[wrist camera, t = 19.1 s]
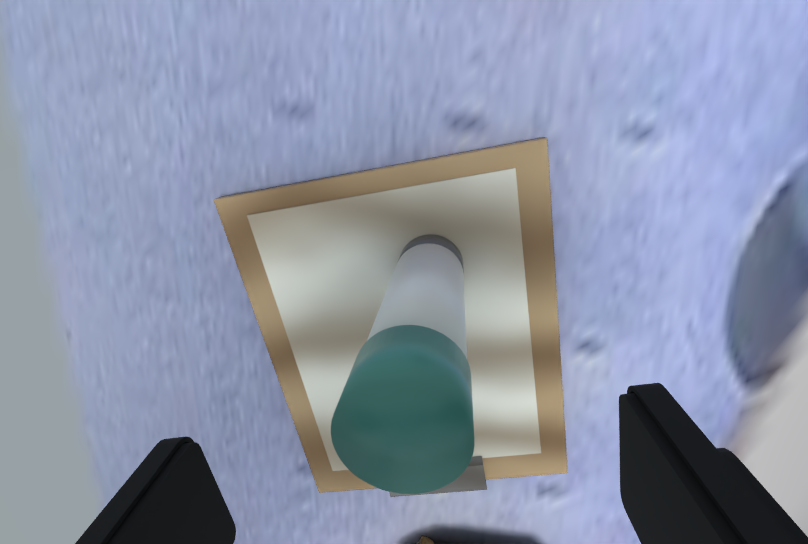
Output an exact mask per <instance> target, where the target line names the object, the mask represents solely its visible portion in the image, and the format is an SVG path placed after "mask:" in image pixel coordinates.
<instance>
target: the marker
mask: <svg viewBox="0 0 808 544" xmlns="http://www.w3.org/2000/svg"><path fill="white" fill-rule="evenodd" d="M331 438H332V443H333V446H334V449H335V451H336V453H337V455H338V457H339V458H340V460H341V461H342V463H343V464H344V465H345V466H346V467H347V468H348V469H349V470H350V471H351V472H352V473H353V474H354V475H356V476H357V477H358V478H360V479H361V480H363V481H364V482H366V483H368V484H370V485H372V486H374V487H377V488H380V489H382V490H386V491H390V492H394V493H401V494H419V493H426V492H430V491H434V490H437V489H440V488H442V487H444V486H446V485H448V484H450V483H452V482H453V481H454V480H456V479H457V478H458V477H459V476H460V475H461V474H462V473H463V472H464V471H465V469H466V468H467V467H468V465H469V463H470V461H471V459H472V456H473V452H474V446H475V443H474V420H473V401H472V382H471V371H470V366H469V363H468V361H467V347H466V321H465V296H464V270H463V258H462V255H461V253H460V251H459V249H458V248H457V247H456V245H455V244H454V243H453V242H451V241H450V240H448V239H447V238H445V237H442V236H439V235H433V234H428V235H422V236H419V237H416V238H414V239H413V240H411V241H410V242H409V243H408V244H407V245H406V246H405V247H404V249H403V250H402V252H401V255H400V257H399V260H398V262H397V265H396V267H395V270H394V273H393V275H392V278H391V280H390V283H389V285H388V288H387V290H386V293H385V296H384V298H383V301H382V303H381V306H380V308H379V311H378V313H377V316H376V319H375V321H374V324H373V326H372V329H371V331H370V334H369V336H368V339H367V341H366V343H365V344H364V345H363V346H362V348H361V349H360V351H359V353H358V355H357V357H356V360H355V362H354V365H353V367H352V370H351V372H350V375H349V377H348V379H347V382H346V384H345V387H344V389H343V392H342V394H341V397H340V399H339V402H338V404H337V406H336V409H335V411H334V414H333V417H332V421H331Z"/></svg>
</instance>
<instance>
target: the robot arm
mask: <svg viewBox="0 0 808 544" xmlns="http://www.w3.org/2000/svg"><path fill="white" fill-rule="evenodd" d="M619 430H620V492H621V498H622V502H623V505H624V508H625V511H626V513H627V515H628V517H629V519H630V521H631V523H632V525H633V527H634V529H635V532H636V534H637V536H638V538H639V540H640V542H641V544H808V537H807V536H806V535H805V534H804V533H803V531H802V530H801V529H800V528H799V527H798V526H797V524H796V523H794V521H793V520H792V519H791V518H790V517H789V516H788V514H787V513H786V512H785V511H784V510H783V509H782V507H781V506H780V505H779V504H778V503H777V502H776V501H775V500H774V498H773V497H772V496H771V495H770V494H769V493H768V492H767V490H766V489H765V488H764V487H763V486H762V485H761V484H760V483H759V481H758V480H757V479H756V478H755V477H754V476H753V475H752V473H751V472H750V471H749V470H748V469H747V468H746V467H745V465H744V464H743V463H742V462H741V461H740V460H739V459H738V458H737V457H736V456H735V455H734V454H733V453H732V452H731V451H729V450H727V449H725V448H717V449H716V448H715V447H714V445H713V444H712V443H711V442H710V441H709V439H708V438H707V437H706V436H705V435H704V433H703V432H702V431H701V430H700V429H699V428H698V426H697V425H696V424H695V423H694V422H693V420H692V419H691V418H690V417H689V416H688V414H687V413H686V412H685V411H684V410H683V409H682V407H681V406H680V405H679V404H678V403H677V401H676V400H675V399H674V398H673V397H672V395H671V394H670V393H669V392H668V391H667V390H666V388H665V387H664V386H663V385H662V384H660V383H653V384H644V385H635V386H630V387H628V390H627V394H622V395H620V397H619ZM235 535H236V528H235V524H234V521H233V519H232V517H231V515H230V512H229V510H228V508H227V506H226V503H225V501H224V499H223V497H222V494H221V492H220V490H219V488H218V485H217V483H216V481H215V479H214V476H213V474H212V472H211V470H210V467H209V465H208V463H207V461H206V458H205V456H204V454H203V452H202V449H201V447H200V446H199V444H198V443H195V442H194V441H193V440H192V439H191V438H190V437H179V438H170V439H164V440H161V441H160V442H159V443H158V444H157V445H156V446H155V447H154V448H153V450H152V451H151V452H150V453H149V454H148V456H147V457H146V458H145V459H144V460H143V462H142V463H141V464H140V465H139V467H138V468H137V469H136V470H135V471H134V473H133V474H132V475H131V476H130V478H129V479H128V480H127V481H126V482H125V484H124V485H123V486H122V487H121V488H120V490H119V491H118V492H117V493H116V495H115V496H114V497H113V498H112V499H111V501H110V502H109V503H108V504H107V506H106V507H105V508H104V509H103V510H102V512H101V513H100V514H99V515H98V516H97V518H96V519H95V520H94V521H93V523H92V524H91V525H90V526H89V527H88V529H87V530H86V531H85V532H84V534H83V535H82V536H81V537H80V539H79V540H78V541H77V542H76V543H75V544H233V543H234V540H235Z"/></svg>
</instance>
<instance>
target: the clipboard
mask: <svg viewBox="0 0 808 544" xmlns="http://www.w3.org/2000/svg"><path fill="white" fill-rule="evenodd" d="M214 202H215V205H216V208H217V211H218V213H219V216H220V219H221V222H222V224H223V227H224V230H225V233H226V236H227V238H228V241H229V244H230V247H231V249H232V252H233V255H234V258H235V260H236V263H237V266H238V269H239V272H240V274H241V277H242V280H243V283H244V285H245V288H246V291H247V294H248V297H249V299H250V302H251V305H252V308H253V310H254V313H255V316H256V319H257V321H258V324H259V327H260V330H261V333H262V335H263V338H264V341H265V344H266V346H267V349H268V352H269V355H270V358H271V360H272V363H273V366H274V369H275V371H276V374H277V377H278V380H279V382H280V385H281V388H282V391H283V394H284V396H285V399H286V402H287V405H288V407H289V410H290V413H291V416H292V419H293V421H294V424H295V427H296V430H297V432H298V435H299V438H300V441H301V443H302V446H303V449H304V452H305V455H306V457H307V460H308V463H309V466H310V468H311V471H312V474H313V477H314V479H315V482H316V485H317V488H318V491H319V493H323V492H335V491H348V490H360V489H373V488H377V487H374V486H372V485H370V484H368V483H366V482H364V481H363V480H361V479H360V478H358V477H357V476H356V475H354V474H353V473H352V472H351V471H350V470H349V469H348V468H347V467H346V466H345V465H344V464H343V463H342V461H341V460H340V458H339V457H338V455H337V453H336V451H335V449H334V446H333V443H332V438H331V421H332V417H333V414H334V411H335V409H336V406H337V404H338V402H339V399H340V397H341V394H342V392H343V389H344V387H345V384H346V382H347V379H348V377H349V375H350V372H351V370H352V367H353V365H354V362H355V360H356V357H357V355H358V353H359V351H360V349H361V348H362V346H363V345H364V344H365V343H366V341H367V339H368V336H369V334H370V331H371V329H372V326H373V324H374V321H375V319H376V316H377V313H378V311H379V308H380V306H381V303H382V301H383V298H384V296H385V293H386V290H387V288H388V285H389V283H390V280H391V278H392V275H393V273H394V270H395V267H396V265H397V262H398V260H399V257H400V255H401V252H402V250H403V249H404V247H405V246H406V245H407V244H408V243H409V242H410V241H411V240H413V239H414V238H416V237H419V236H422V235H428V234H433V235H439V236H442V237H445V238H447V239H448V240H450V241H451V242H453V243H454V244H455V245H456V247H457V248H458V249H459V251H460V253H461V255H462V258H463V270H464V296H465V321H466V347H467V361H468V363H469V366H470V371H471V382H472V401H473V420H474V443H475V446H474V452H473V456H472V459H471V461H470V463H469V465H468V467H467V468H466V469H465V471H464V472H463V473H462V474H461V475H460V476H459V477H458V478H457V479H456V480H454V481H453V482H452V483H450V484H448V485H446V486H444V487H442V488H440V489H437V490H434V491H430V492H426V493H419V494H401V493H394V492H390V491H389V492H390V496H391V497H395V496H408V495H421V494H434V493H448V492H461V491H474V490H487V486H486V479H499V478H512V477H524V476H537V475H549V474H562V473H568V471H567V455H566V438H565V422H564V405H563V389H562V373H561V356H560V340H559V323H558V307H557V290H556V274H555V257H554V241H553V225H552V208H551V192H550V175H549V159H548V142H547V138H544V137H543V138H538V139H533V140H527V141H522V142H516V143H511V144H505V145H500V146H495V147H489V148H484V149H478V150H473V151H467V152H462V153H457V154H451V155H446V156H440V157H435V158H430V159H424V160H419V161H413V162H408V163H402V164H397V165H392V166H386V167H381V168H375V169H370V170H364V171H359V172H354V173H348V174H343V175H337V176H332V177H327V178H321V179H316V180H310V181H305V182H299V183H294V184H289V185H283V186H278V187H272V188H267V189H261V190H256V191H251V192H245V193H240V194H234V195H229V196H223V197H219V198H217V199H215V200H214Z"/></svg>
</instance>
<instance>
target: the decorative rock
mask: <svg viewBox="0 0 808 544" xmlns="http://www.w3.org/2000/svg"><path fill="white" fill-rule="evenodd" d="M415 544H435V543H434V542H433V541H432V540H431V539H429V538H427V537H424V536H421V538H420V540H419V542H418V543H415Z"/></svg>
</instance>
